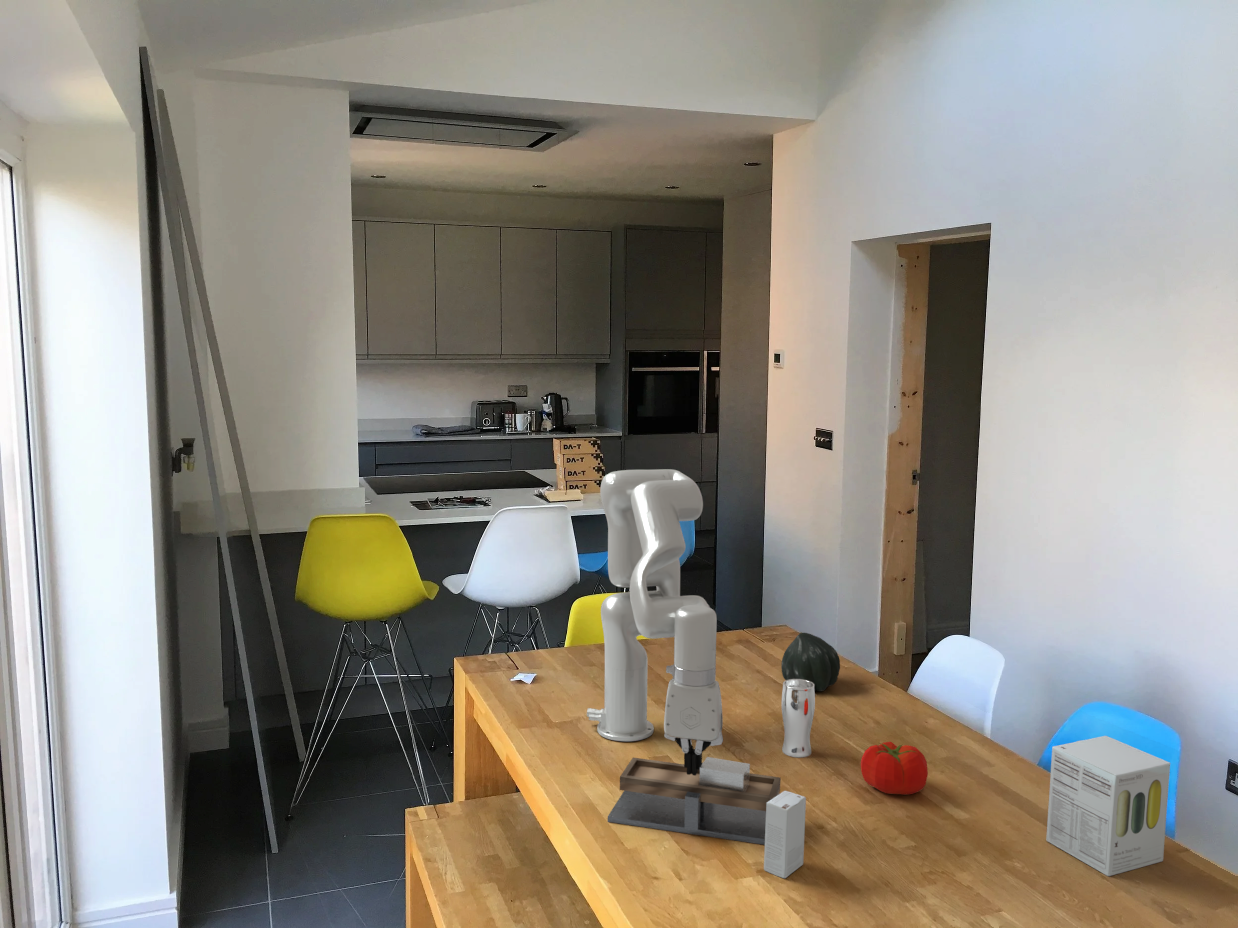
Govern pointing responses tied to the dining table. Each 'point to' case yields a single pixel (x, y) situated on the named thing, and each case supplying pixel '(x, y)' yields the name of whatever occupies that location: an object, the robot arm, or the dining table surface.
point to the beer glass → (797, 716)
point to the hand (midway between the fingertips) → (692, 771)
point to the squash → (811, 661)
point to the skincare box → (784, 834)
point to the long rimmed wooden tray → (694, 784)
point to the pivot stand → (690, 816)
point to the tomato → (894, 768)
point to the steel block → (724, 774)
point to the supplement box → (1108, 804)
